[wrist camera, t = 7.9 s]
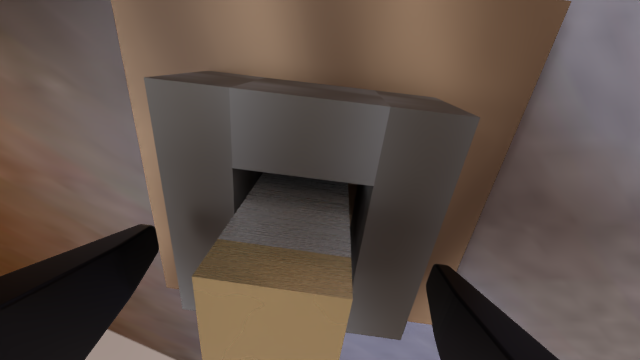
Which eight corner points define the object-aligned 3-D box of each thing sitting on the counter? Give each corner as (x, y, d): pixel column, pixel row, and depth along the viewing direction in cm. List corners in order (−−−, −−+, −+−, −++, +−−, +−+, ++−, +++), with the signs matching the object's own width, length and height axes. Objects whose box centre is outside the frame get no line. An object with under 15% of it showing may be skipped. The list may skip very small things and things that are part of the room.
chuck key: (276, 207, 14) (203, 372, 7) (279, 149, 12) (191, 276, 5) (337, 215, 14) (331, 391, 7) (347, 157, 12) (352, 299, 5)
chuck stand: (179, 270, 18) (119, 349, 13) (130, -36, 11) (-40, -111, 6) (426, 304, 18) (459, 399, 13) (542, 8, 11) (716, -35, 6)
